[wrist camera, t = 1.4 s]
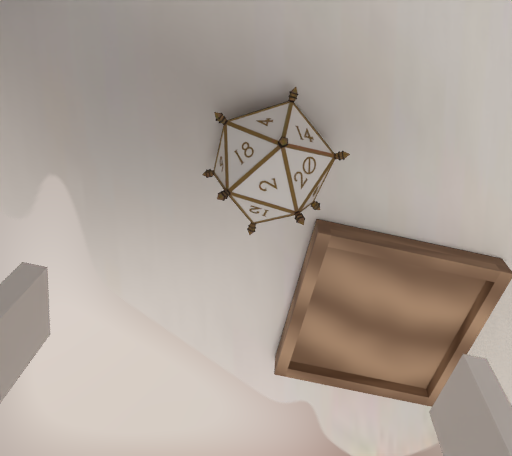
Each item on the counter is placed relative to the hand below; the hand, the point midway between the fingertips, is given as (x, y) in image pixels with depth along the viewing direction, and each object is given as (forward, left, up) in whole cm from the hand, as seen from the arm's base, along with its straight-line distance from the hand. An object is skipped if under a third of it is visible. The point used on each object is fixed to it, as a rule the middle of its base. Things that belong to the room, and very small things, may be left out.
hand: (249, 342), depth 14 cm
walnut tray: (+12, +12, -20) cm, 27 cm away
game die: (0, 0, -20) cm, 20 cm away
